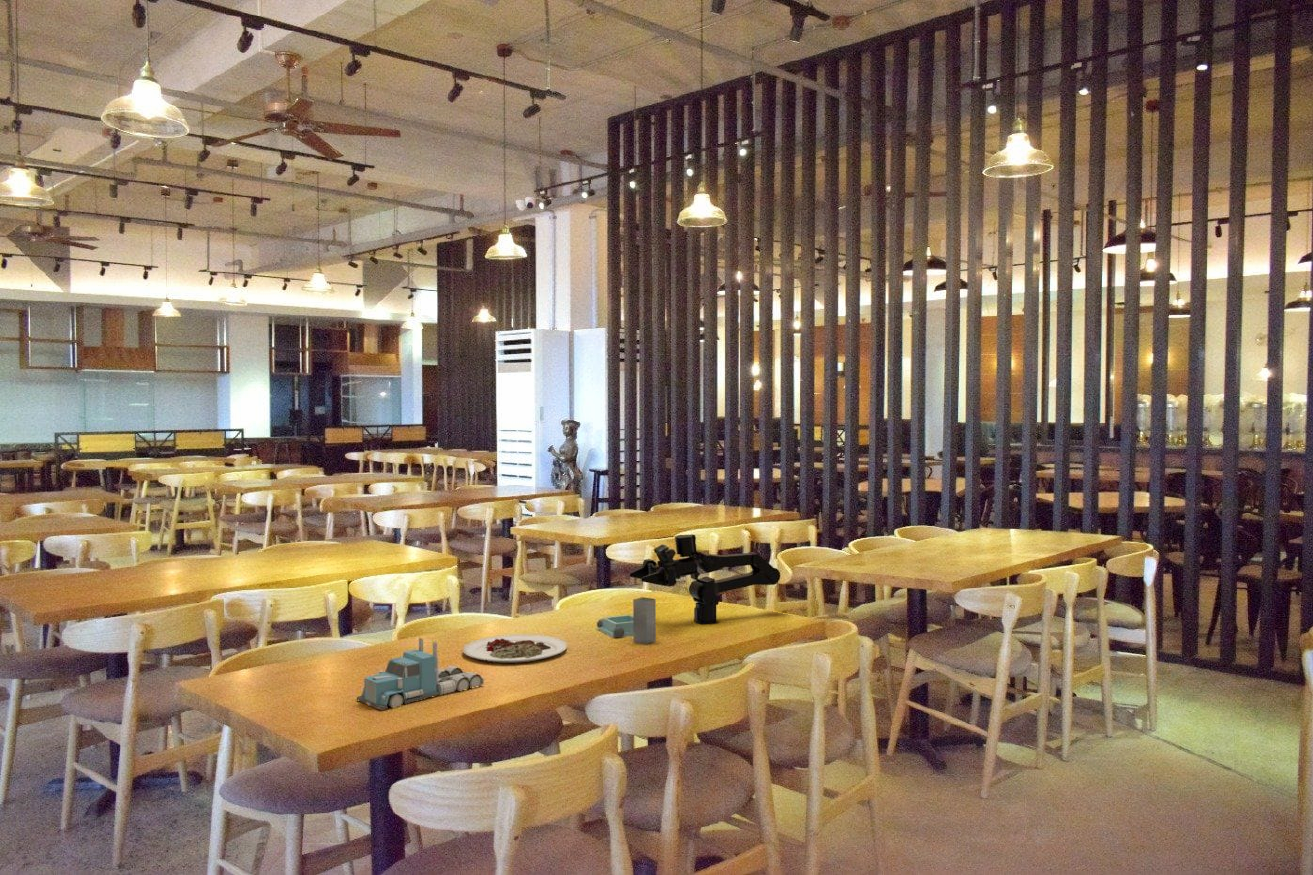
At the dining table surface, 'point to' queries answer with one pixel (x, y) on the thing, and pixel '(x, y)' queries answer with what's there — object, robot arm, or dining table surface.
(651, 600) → the grey upright pillar
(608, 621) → the chassis
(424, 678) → the truck
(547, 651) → the plated food
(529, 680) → the dining table surface
